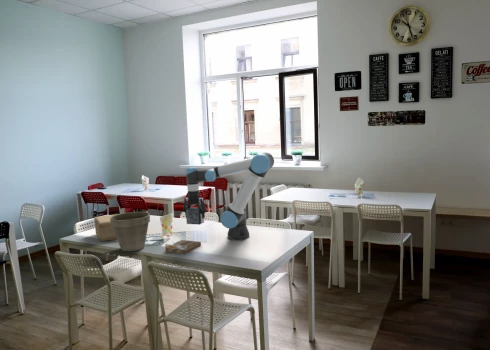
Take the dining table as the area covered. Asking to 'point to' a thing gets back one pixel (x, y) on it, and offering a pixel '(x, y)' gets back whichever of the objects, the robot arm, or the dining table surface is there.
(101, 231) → the paper package
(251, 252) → the dining table surface
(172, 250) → the brown wooden slab
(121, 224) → the plant pot
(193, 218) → the small box
